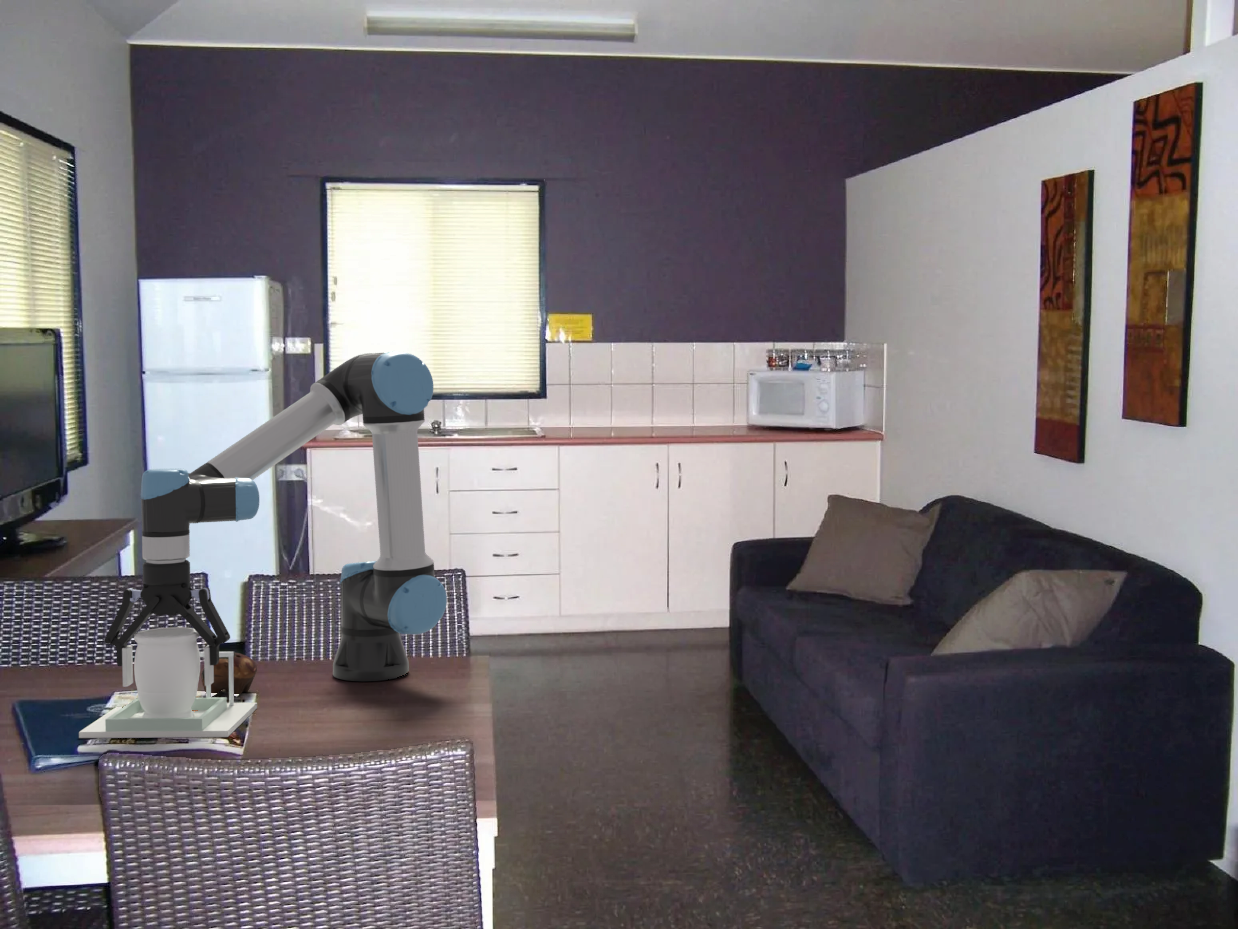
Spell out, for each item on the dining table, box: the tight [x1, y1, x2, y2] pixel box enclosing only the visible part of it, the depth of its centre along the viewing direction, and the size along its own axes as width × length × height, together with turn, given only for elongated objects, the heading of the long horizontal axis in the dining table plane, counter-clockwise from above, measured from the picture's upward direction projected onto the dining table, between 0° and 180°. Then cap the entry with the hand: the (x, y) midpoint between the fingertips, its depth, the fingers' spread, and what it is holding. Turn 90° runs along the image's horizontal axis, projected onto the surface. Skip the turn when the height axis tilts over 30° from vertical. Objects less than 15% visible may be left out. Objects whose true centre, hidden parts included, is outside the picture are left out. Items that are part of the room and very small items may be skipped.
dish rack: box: [78, 651, 258, 739], centre depth 208 cm, size 24×19×11 cm
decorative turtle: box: [200, 652, 258, 695], centre depth 229 cm, size 10×15×8 cm, turn 4°
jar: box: [133, 626, 201, 718], centre depth 206 cm, size 11×10×15 cm
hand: (168, 684), depth 206 cm, fingers open, 13 cm apart
